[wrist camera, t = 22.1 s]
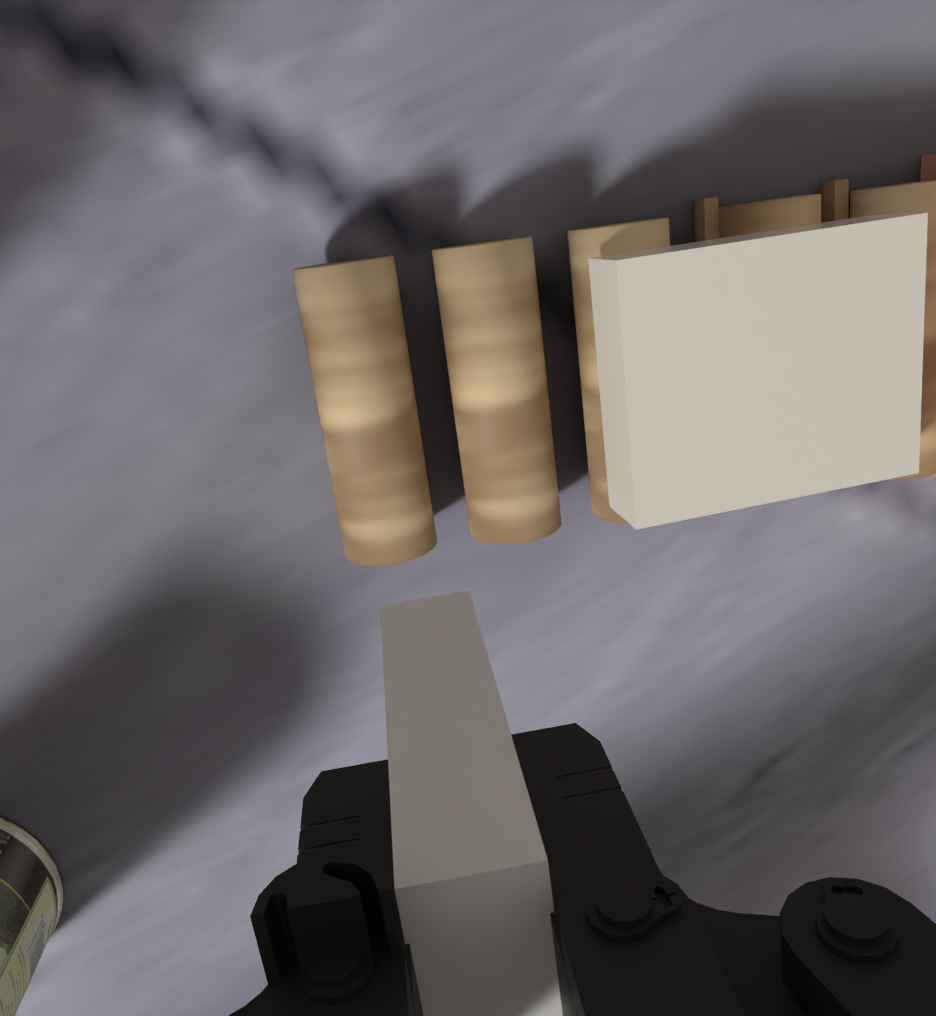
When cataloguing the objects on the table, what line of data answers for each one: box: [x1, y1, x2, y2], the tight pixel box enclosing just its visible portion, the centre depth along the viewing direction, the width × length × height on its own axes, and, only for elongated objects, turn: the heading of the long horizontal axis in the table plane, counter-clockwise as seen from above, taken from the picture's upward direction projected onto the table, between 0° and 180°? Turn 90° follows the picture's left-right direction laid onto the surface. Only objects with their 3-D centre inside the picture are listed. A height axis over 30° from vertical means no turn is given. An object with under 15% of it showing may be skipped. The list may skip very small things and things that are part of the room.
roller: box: [719, 194, 821, 238], centre depth 38 cm, size 12×4×4 cm
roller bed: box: [292, 179, 936, 566], centre depth 37 cm, size 13×27×4 cm, turn 97°
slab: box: [588, 213, 928, 530], centre depth 34 cm, size 10×12×3 cm
